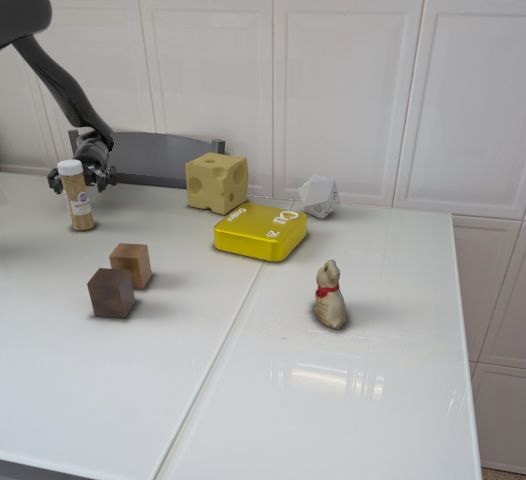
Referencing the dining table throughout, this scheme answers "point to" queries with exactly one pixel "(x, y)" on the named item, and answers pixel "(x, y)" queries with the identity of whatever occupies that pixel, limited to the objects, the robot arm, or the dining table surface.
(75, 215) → the sprinkles bottle
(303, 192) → the die
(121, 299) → the walnut block
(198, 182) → the cheese
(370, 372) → the dining table surface
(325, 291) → the chocolate bunny
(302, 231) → the element tile
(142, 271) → the oak block
